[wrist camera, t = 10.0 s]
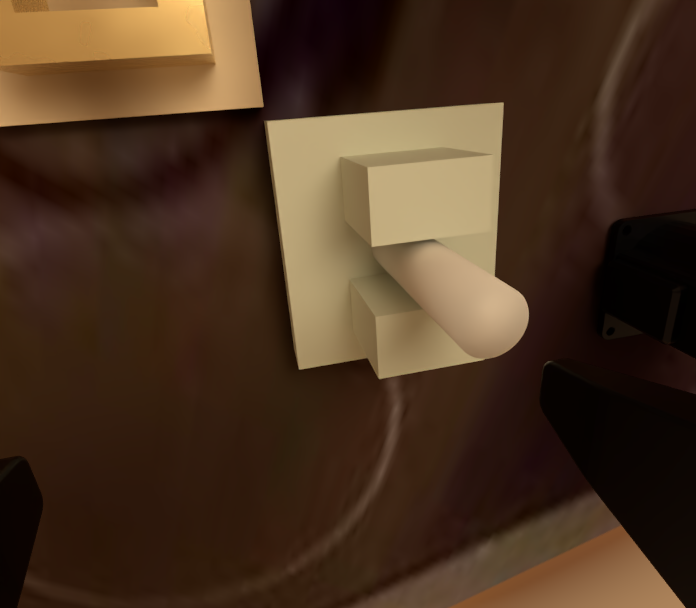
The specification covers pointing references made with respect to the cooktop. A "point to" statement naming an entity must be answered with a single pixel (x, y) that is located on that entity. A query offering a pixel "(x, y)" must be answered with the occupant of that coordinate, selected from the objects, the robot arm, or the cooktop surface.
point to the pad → (143, 77)
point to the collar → (102, 37)
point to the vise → (393, 237)
